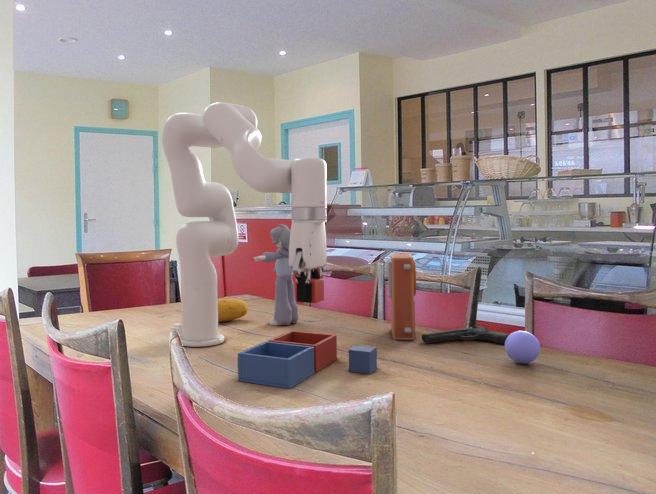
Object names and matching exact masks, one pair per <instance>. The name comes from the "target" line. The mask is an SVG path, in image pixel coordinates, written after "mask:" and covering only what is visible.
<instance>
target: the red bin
mask: <svg viewBox="0 0 656 494" xmlns="http://www.w3.org/2000/svg"><path fill="white" fill-rule="evenodd" d="M267 342H275V343H285V344H294V345H303V346H311V347H314V373H318V372H319V371H321V370H322V369H324V368H325V367H327V366H329V365H330V364H332V363H333V362H335V361H337V360H338V344H337V343H338V341H337V334H330V333H320V332H311V331H300V330H290V331H287V332H284V333H282V334H280V335H277V336H276V337H273V338H271V339H268V340H267Z"/></svg>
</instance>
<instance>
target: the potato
mask: <svg viewBox="0 0 656 494" xmlns="http://www.w3.org/2000/svg"><path fill="white" fill-rule="evenodd" d="M248 312H249V305H248V303H246V301H244V300H241V299H235V298H220V299H218V323H224V322H231V321H235V320H238V319H240V318H242V317H245V316H246V315H247V314H248Z"/></svg>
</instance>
